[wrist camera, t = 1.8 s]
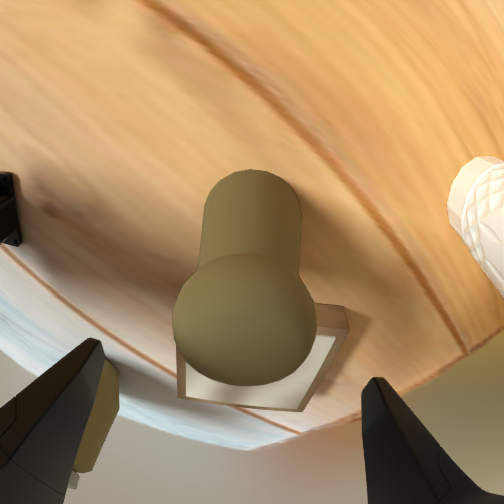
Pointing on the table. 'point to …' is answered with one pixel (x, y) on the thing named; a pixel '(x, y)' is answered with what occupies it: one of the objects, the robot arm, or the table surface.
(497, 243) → the white cup
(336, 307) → the walnut picture frame
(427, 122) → the table surface
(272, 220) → the cork
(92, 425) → the squeeze bottle
